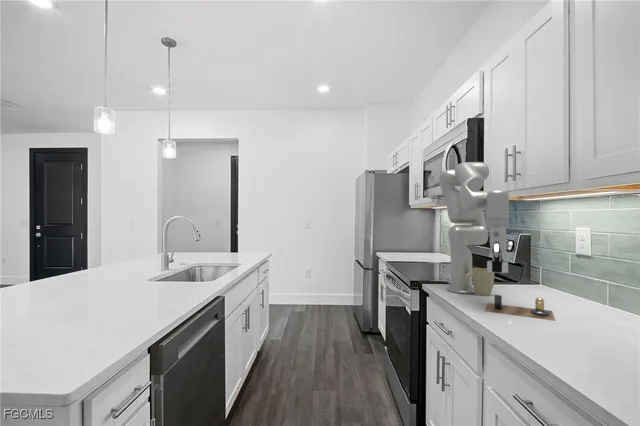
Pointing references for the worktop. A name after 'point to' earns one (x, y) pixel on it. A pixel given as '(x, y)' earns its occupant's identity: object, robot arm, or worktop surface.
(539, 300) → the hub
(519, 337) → the worktop surface
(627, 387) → the worktop surface
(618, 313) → the worktop surface
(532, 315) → the base board
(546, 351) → the worktop surface
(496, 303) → the stand rod
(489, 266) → the white octagonal block
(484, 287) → the mug
